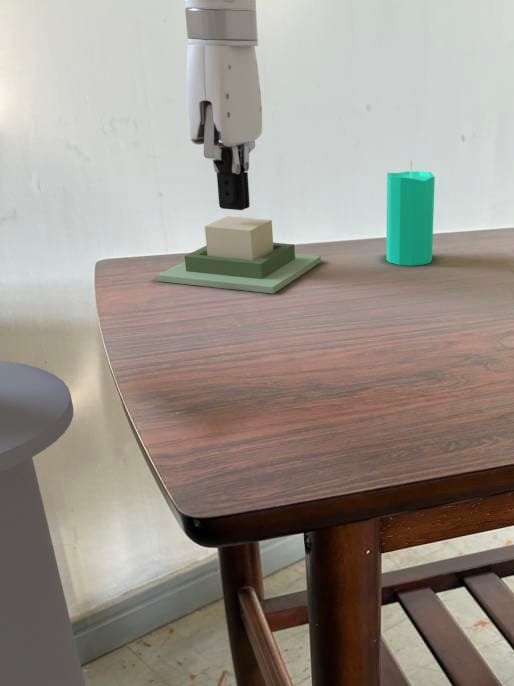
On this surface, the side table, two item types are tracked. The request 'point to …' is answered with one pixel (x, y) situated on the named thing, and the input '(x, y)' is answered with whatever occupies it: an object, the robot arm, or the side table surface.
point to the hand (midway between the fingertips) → (234, 207)
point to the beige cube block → (239, 238)
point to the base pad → (242, 270)
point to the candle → (410, 217)
